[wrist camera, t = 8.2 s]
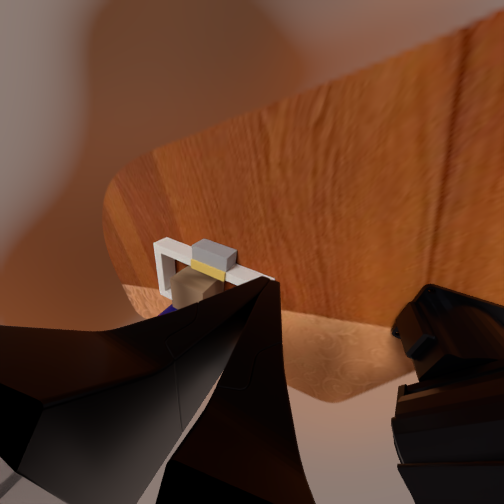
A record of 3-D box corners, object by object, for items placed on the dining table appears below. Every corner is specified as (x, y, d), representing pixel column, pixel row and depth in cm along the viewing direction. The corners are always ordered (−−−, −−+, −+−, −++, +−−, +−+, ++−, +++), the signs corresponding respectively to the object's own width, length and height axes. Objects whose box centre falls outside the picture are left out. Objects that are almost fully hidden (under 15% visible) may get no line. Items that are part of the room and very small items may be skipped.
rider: (225, 272, 26) (202, 293, 22) (223, 298, 29) (202, 322, 25) (196, 260, 28) (169, 277, 24) (196, 286, 30) (172, 306, 26)
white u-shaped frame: (278, 265, 22) (270, 276, 20) (260, 338, 29) (252, 353, 26) (165, 224, 27) (149, 230, 25) (172, 294, 34) (159, 304, 32)
